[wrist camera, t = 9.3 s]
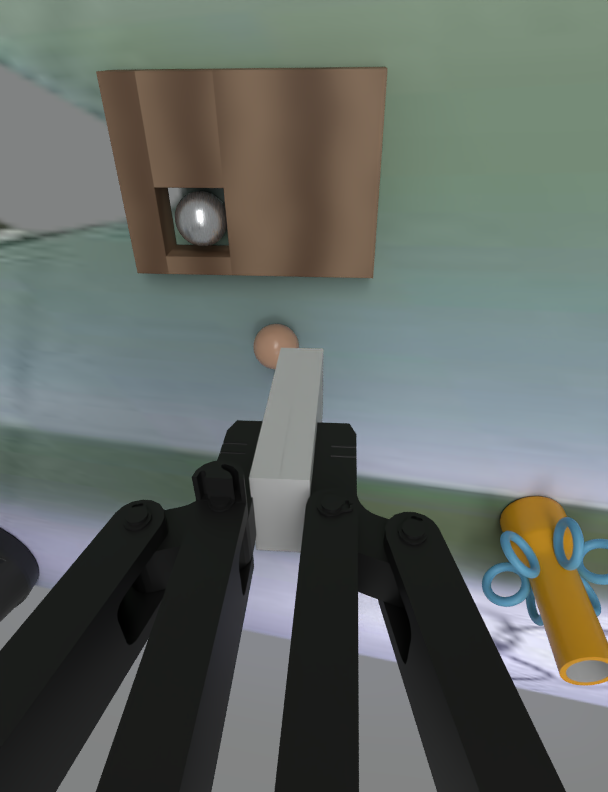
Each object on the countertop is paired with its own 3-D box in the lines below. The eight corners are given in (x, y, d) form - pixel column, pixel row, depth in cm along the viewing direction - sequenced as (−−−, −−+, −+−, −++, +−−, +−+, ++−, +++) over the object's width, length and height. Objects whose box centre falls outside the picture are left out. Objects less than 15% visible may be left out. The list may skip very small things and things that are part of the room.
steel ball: (175, 254, 34) (229, 252, 34) (166, 199, 31) (223, 198, 32) (183, 237, 36) (232, 235, 36) (175, 185, 34) (227, 184, 34)
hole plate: (149, 260, 38) (137, 273, 36) (113, 69, 31) (96, 71, 29) (371, 265, 37) (372, 278, 34) (385, 66, 30) (387, 68, 28)
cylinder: (492, 464, 46) (541, 616, 34) (609, 475, 46) (702, 633, 33) (462, 551, 53) (494, 702, 41) (563, 560, 53) (626, 717, 40)
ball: (258, 354, 42) (251, 377, 39) (256, 315, 40) (248, 336, 37) (301, 355, 41) (297, 378, 38) (300, 316, 39) (296, 338, 37)
